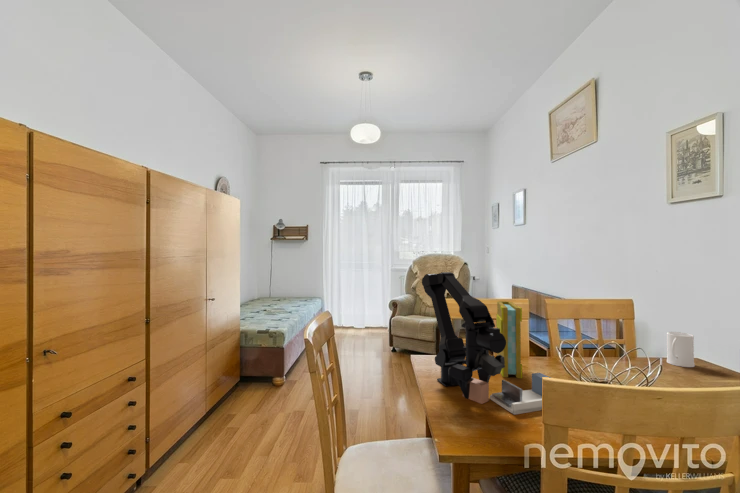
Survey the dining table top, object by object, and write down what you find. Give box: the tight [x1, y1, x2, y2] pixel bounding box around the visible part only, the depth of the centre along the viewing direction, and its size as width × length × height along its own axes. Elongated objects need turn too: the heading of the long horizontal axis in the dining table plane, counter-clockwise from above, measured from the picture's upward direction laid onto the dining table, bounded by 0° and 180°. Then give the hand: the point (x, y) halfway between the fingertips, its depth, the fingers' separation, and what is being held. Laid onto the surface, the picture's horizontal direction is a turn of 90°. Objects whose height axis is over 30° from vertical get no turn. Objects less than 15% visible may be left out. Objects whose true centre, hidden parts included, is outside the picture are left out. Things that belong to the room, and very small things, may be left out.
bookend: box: [491, 379, 523, 407], centre depth 104 cm, size 8×4×4 cm, turn 17°
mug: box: [666, 331, 696, 368], centre depth 141 cm, size 12×8×12 cm
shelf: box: [489, 372, 552, 415], centre depth 106 cm, size 11×19×6 cm, turn 107°
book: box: [495, 300, 523, 379], centre depth 135 cm, size 17×7×25 cm, turn 168°
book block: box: [462, 376, 490, 405], centre depth 109 cm, size 7×4×6 cm, turn 37°
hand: (475, 395), depth 109 cm, fingers open, 8 cm apart
